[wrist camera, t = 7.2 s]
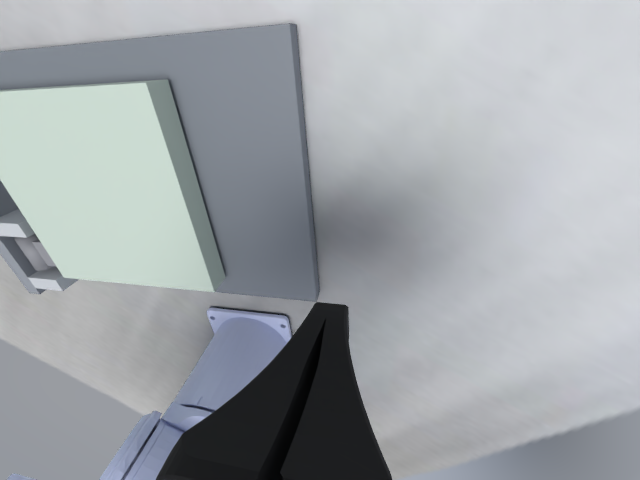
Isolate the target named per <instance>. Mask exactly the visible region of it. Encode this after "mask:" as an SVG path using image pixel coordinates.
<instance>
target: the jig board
mask: <svg viewBox="0 0 640 480" xmlns="http://www.w3.org/2000/svg"><path fill="white" fill-rule="evenodd" d="M166 79H168V82H169V85H170V89H171V92H172V96H173V99H174V102H175V106H176V109H177V113H178V116H179V120H180V123H181V126H182V130H183V133H184V137H185V140H186V144H187V147H188V150H189V154H190V157H191V161H192V164H193V168H194V171H195V174H196V178H197V181H198V185H199V188H200V191H201V195H202V198H203V202H204V205H205V209H206V212H207V215H208V219H209V222H210V226H211V229H212V233H213V236H214V239H215V243H216V246H217V250H218V253H219V257H220V260H221V263H222V267H223V270H224V274H225V279H224V280H223V281H222V283H221V284H220V285H219V287H218V288H217V290H216V291H215V292H222V293H232V294H242V295H252V296H263V297H273V298H283V299H294V300H304V301H314V302H317V298H318V295H319V292H320V291H319V280H318V268H317V257H316V245H315V234H314V222H313V211H312V199H311V188H310V176H309V165H308V154H307V142H306V131H305V119H304V108H303V96H302V85H301V73H300V62H299V50H298V39H297V27H296V25H295V24H290V23H289V24H279V25H269V26H258V27H248V28H238V29H227V30H217V31H207V32H197V33H186V34H176V35H166V36H156V37H145V38H135V39H125V40H114V41H104V42H94V43H84V44H73V45H63V46H53V47H42V48H32V49H22V50H12V51H1V52H0V90H8V89H23V88H39V87H55V86H71V85H87V84H102V83H118V82H134V81H150V80H166ZM33 234H35V232H34V231H33V229H32V228H31V226H30V225H29V223H28V222H27V220H26V219H25V217H24V216H23V214H22V212H21V211H20V209H19V208H18V206H17V205H16V203H15V202H14V200H13V199H12V197H11V196H10V194H9V192H8V191H7V189H6V188H5V186H4V185H3V183H2V182H1V180H0V255H1V256H2V257H3V258H4V260H5V261H6V262H7V264H8V265H9V266H10V268H11V269H12V270H13V272H14V273H15V274H16V276H17V277H18V278H19V280H20V281H21V282H22V284H23V285H24V286H25V288H26V289H27V290H28V292H29V293H34V294H41V293H42V292H44V291H45V290H46V289H48V290H57V291H64V290H65V289H66V288H68V287H69V286H70V285H72V284H73V283H74V282H76V281H77V280H79V279H73V278H64V277H63V276H62V274H61V272H60V271H59V269H58V268H57V267H56V266H54V267H52V268H50V269H47V270H43V271H37V270H35V268H34V267H33V266H32V264H31V263H30V261H29V260H28V258H27V257H26V256H25V254H24V253H23V251H22V250H21V248H20V247H19V246H18V244H17V243H16V241H15V240H14V239H15V238H16V237H24V238H27V237H29V236H31V235H33Z"/></svg>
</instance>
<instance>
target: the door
mask: <svg viewBox="0 0 640 480" xmlns="http://www.w3.org/2000/svg"><path fill="white" fill-rule="evenodd" d="M0 180H1V182H2V183H3V185H4V186H5V188H6V189H7V191H8V192H9V194H10V196H11V197H12V199H13V200H14V202H15V203H16V205H17V206H18V208H19V209H20V211H21V212H22V214H23V216H24V217H25V219H26V220H27V222H28V223H29V225H30V226H31V228H32V229H33V231H34V232H35V234H33V235H31V236H29V237H27V238H24V237H16V238H15V239H14V240H15V241H16V243H17V244H18V246H19V247H20V248H21V250H22V251H23V253H24V254H25V256H26V257H27V258H28V260H29V261H30V263H31V264H32V266H33V267H34V268H35V270H37V271H43V270H47V269H50V268H52V267H54V266H56V267H57V268H58V269H59V271H60V272H61V274H62V276H63V277H64V278H73V279H83V280H93V281H103V282H114V283H124V284H134V285H145V286H155V287H165V288H175V289H186V290H196V291H206V292H215V291H216V290H217V288H218V287H219V285H220V284H221V283H222V281H223V280H224V279H225V274H224V270H223V267H222V263H221V260H220V257H219V253H218V250H217V246H216V243H215V239H214V236H213V233H212V229H211V226H210V222H209V219H208V215H207V212H206V209H205V205H204V202H203V198H202V195H201V191H200V188H199V185H198V181H197V178H196V174H195V171H194V168H193V164H192V161H191V157H190V154H189V150H188V147H187V144H186V140H185V137H184V133H183V130H182V126H181V123H180V120H179V116H178V113H177V109H176V106H175V102H174V99H173V96H172V92H171V89H170V85H169V82H168V79H166V80H150V81H134V82H118V83H102V84H87V85H71V86H55V87H39V88H23V89H8V90H0Z"/></svg>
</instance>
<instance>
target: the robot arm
mask: <svg viewBox="0 0 640 480" xmlns="http://www.w3.org/2000/svg"><path fill="white" fill-rule="evenodd" d="M207 315H208V318H209V321H210V324H211V326H212V329H213V332H214V337H213V338H212V340H211V341H210V343H209V345H208V346H207V348H206V349H205V351H204V353H203V354H202V356H201V358H200V359H199V361H198V362H197V364H196V366H195V367H194V369H193V370H192V372H191V374H190V375H189V377H188V379H187V380H186V382H185V383H184V385H183V387H182V388H181V390H180V391H179V393H178V395H177V396H176V398H175V399H174V401H173V402H172V403H171V405H170V406H169V408H168V409H167V411H166V412H165V414H164V415H163V416H162V418H161V419H159V418H160V416H161V414H162V413H160V412H158V411H153V412H152V413H151V414H147V415H144V416H142V418H141V419H140V420H139V421H138V423H137V424H136V426H135V427H134V429H133V430H132V431H131V433H130V434H129V436H128V437H127V439H126V440H125V441H124V443H123V444H122V446H121V447H120V449H119V450H118V452H117V453H116V455H115V456H114V458H113V459H112V461H111V462H110V464H109V465H108V467H107V468H106V470H105V471H104V473H103V474H102V476H101V477H100V479H99V480H392V477H391V474H390V471H389V469H388V467H387V464H386V462H385V460H384V457H383V455H382V453H381V450H380V448H379V445H378V443H377V440H376V438H375V435H374V433H373V430H372V427H371V425H370V422H369V419H368V416H367V413H366V411H365V408H364V405H363V401H362V398H361V395H360V392H359V388H358V385H357V381H356V377H355V373H354V369H353V364H352V360H351V355H350V349H349V317H348V307H347V306H346V305H340V304H330V303H320V302H317V303H315V304H314V306H313V308H312V309H311V311H310V313H309V314H308V316H307V317H306V319H305V320H304V321H303V323H302V324H301V326H300V327H299V328H298V330H297V331H296V332H295V334H294V335H293V336H291V330H290V324H289V319H288V318H287V317H286V316H283V315H274V314H265V313H256V312H247V311H237V310H228V309H219V308H209V309H208V310H207ZM283 324H284V325H283ZM6 480H37V479H34V478H29V477H26V476H23V475H19V474H15V473H14V474H11V475H10V476H9V477H8V478H7V479H6Z"/></svg>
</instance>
